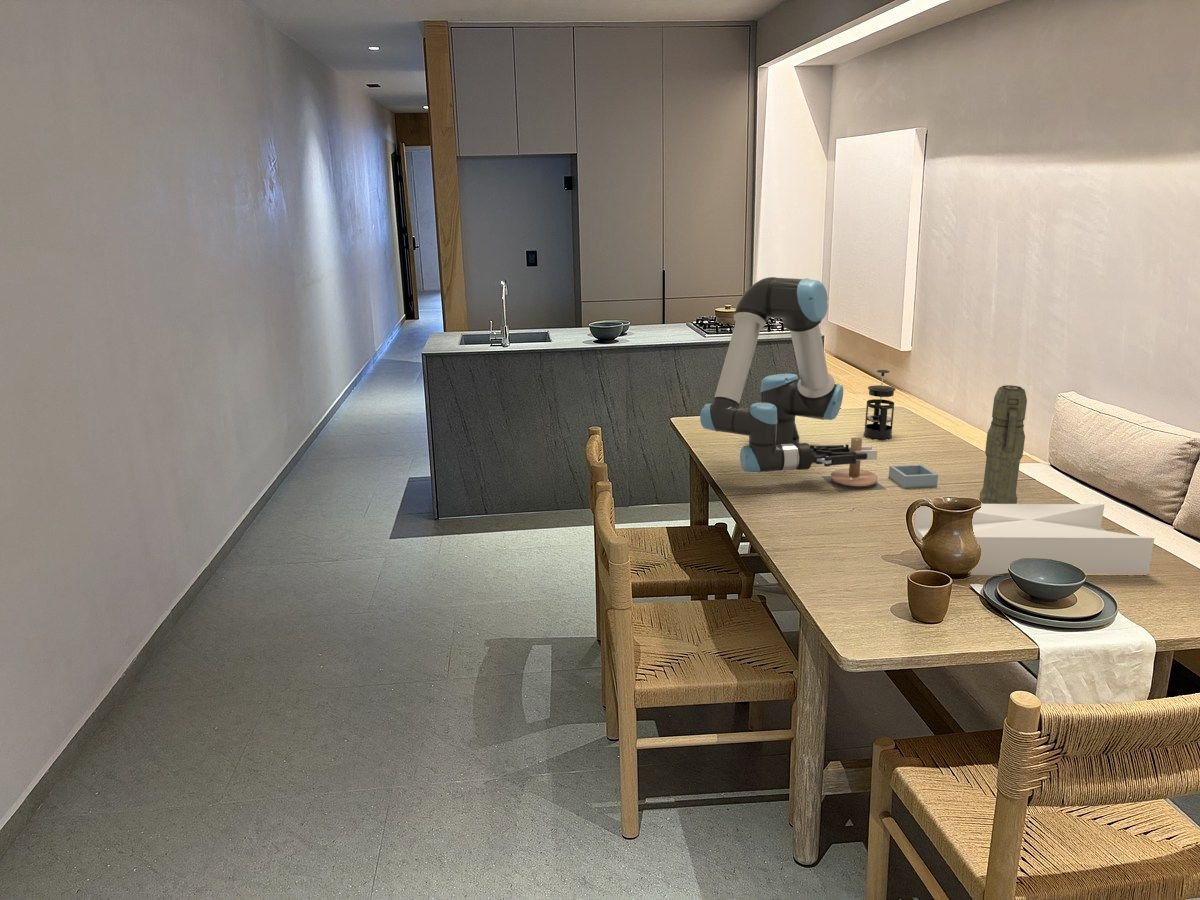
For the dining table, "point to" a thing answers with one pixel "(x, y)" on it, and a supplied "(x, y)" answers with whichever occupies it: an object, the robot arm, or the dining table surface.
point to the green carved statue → (1004, 446)
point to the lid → (854, 471)
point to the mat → (853, 488)
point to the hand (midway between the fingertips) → (873, 452)
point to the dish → (913, 476)
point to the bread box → (1050, 538)
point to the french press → (881, 429)
